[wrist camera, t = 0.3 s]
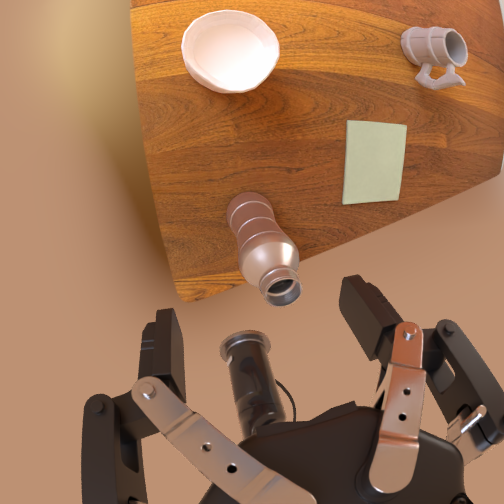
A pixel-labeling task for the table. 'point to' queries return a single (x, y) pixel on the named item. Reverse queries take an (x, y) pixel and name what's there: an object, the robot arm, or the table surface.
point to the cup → (230, 51)
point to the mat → (373, 161)
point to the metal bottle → (264, 249)
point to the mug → (435, 54)
